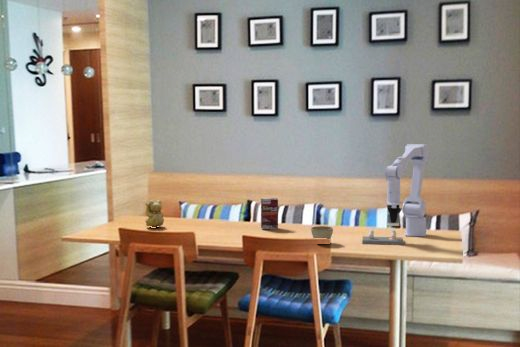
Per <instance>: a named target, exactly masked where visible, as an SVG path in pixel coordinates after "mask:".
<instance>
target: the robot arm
mask: <svg viewBox="0 0 520 347" xmlns="http://www.w3.org/2000/svg"><path fill="white" fill-rule="evenodd" d="M429 155H430V149H429V146H428V144H426V143H424V144H423V143H422V144H420V143H417V144H416V143H413V144H412V143H407V144H406V145H405V147H404V153H403V154H402V155H401V156H398V157H397V158H396V159H395V160H394V161H393V163H392V164H391V165H388V166H386V167H385V169H384V176H385V181H386V204H387V205H386V207H387V208H386V209H387V210H388V213H389V214H390V220H391V223H396V221H397V215H398V213H400V210H401V212H402V214H403V215H404V217H405V231H404V236H405V237H407V236H408V237H426V236H427V218H426V217H425V214H426V201H425V200H424V199H423V198H422V197H421V194H422V188H423V180H424V173H425V172H424V171H425V164H426V163H427V162H428V161H429ZM409 162H411V163H412V164H413V168H412V169H413V170H412V177H411V182H410V184H411V185H410V193H409V196H408V197H405V199H404V201H401V179H402V177H403V174H404V173H405V172H404V170H406V168H407V167H408V165H409ZM400 204H402V207H400V206H401V205H400Z"/></svg>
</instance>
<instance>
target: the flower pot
mask: <svg viewBox="0 0 520 347" xmlns="http://www.w3.org/2000/svg"><path fill="white" fill-rule="evenodd" d="M310 231H311V235H312V238H313V239H314V238H327V239H330V240H331V238H332V235H333V231H334V227H332V226H328V225H316V226H312V227H311V228H310Z"/></svg>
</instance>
